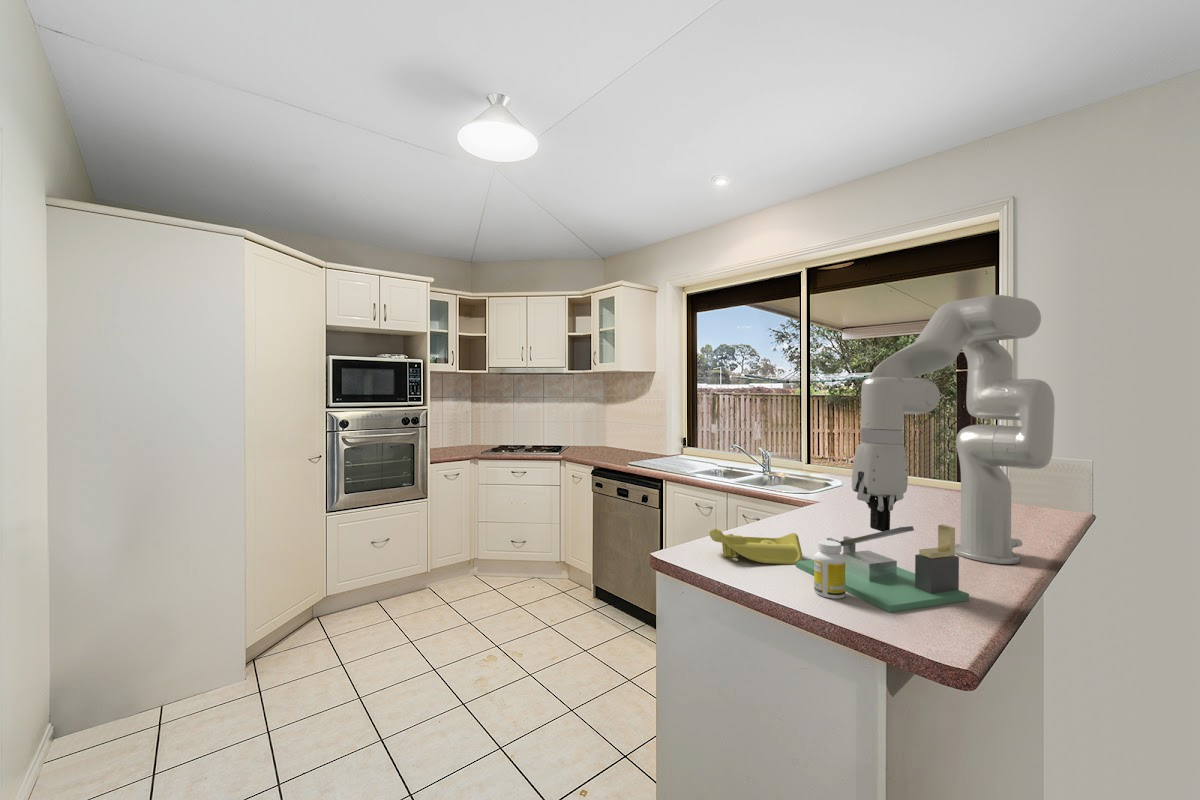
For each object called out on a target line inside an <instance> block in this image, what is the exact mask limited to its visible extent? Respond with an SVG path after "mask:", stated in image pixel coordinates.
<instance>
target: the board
mask: <svg viewBox="0 0 1200 800" xmlns="http://www.w3.org/2000/svg"><path fill="white" fill-rule="evenodd" d="M842 538H843V540H842V541H844V540H849V539H853V538H854V537H851V536H847V535H845V536H843V537H842ZM826 540H830V541H836V542H840V541H839V539H835V538H832V537H826ZM842 547H843V548H842V549H843V550H842V551H843V552H842V553H848V552H856V543H855V544H851V545H847V546H842ZM795 567H796V568H797V569H799V570H802V571H804V572H805V573H808V574H810V575H812V576H814V559H808V560H807V559H806V560H801V561H796V564H795ZM845 593H849V594H851V595H853V596H855V597H857V598H859V599H861V600H863V601H866V602H867V603H869V604H871V605H873V606H875V607H877V608H880V609H882V610H884V611H886V612H888V613H895V612H901V611H908V610H916V609H919V608H921V609H922V608H928V607H935V606H940V605H946V604H947V605H948V604H954V603H959V602H960V603H961V602H965V601H966V602H967V601H969V600H970V593H967V592H965V591H962V590H960V589H959V590H955V591H948V592H941V593H934V594H930V593H927V592H925V591H922V590H920V589H918V588H915V572H912V571H910V570H907V569H904V568H902V567H899V566H897V578H893V579H885V580H877V581H867V580H865V579H863V578H860V577H858V576H856V575H853V574H851V573H849V572H847V571H845Z"/></svg>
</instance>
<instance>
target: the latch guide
mask: <svg viewBox="0 0 1200 800" xmlns="http://www.w3.org/2000/svg"><path fill="white" fill-rule="evenodd" d="M914 557H915V560H914V565H915V566H914V567H915V568H914V571H915V572H914V573H915V588H918V589H920V590H922V591H925V592H927V593H930V594H934V593H941V592H948V591H955V590H960V589H959V587H960V586H959V585H960V569H959V568H960V557H959V555H955V556H950V557H941V558H933V559H931V558H928V557H925V556H922V555H919V554H918V553H917V554H915V555H914Z"/></svg>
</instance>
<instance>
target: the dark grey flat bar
mask: <svg viewBox="0 0 1200 800" xmlns="http://www.w3.org/2000/svg"><path fill="white" fill-rule="evenodd" d="M913 531H915V529H914V526H912V525H911V526H900V527H896V528H895V527H894V528H890V530H887V531H879V532H874V533H870V534H866V535H861V536H857V537H852V538H853V539H849V540H844V541H843V540H841V541H839V543H841V547H843V546H847V545H851V544H855V545H856V544H859V543H864V542H868V541H869V542H870V541H873V540H877V539H882V538H887V537H891V536H895V535H899V534H905V533H908V532H909V533H910V532H913Z"/></svg>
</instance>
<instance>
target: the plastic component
mask: <svg viewBox="0 0 1200 800" xmlns="http://www.w3.org/2000/svg"><path fill="white" fill-rule="evenodd" d="M708 534H709V536H710V538H711V539H712V541H713V542H715V543H720V544H721V545H722V555H723V557H725V558H736V557H739V555H740V556H742V557H743V558H746V559H748V560H750V561H753V562H756V563H762V564H772V565H773V564H777V565H796V561H803V560H802V559H803V552H802V548H801V543H800V539H799V536H798V534H797V533H796V532H791V533H790V534H787V535H784V536H781V537H759V536H758V537H757V536H755V537H753V536H743V535H736V534H735V535H734V534H732V533H729V534H724V533H723V532H722V531H721V529H719V528H714V529H712V530H710V531H709V532H708Z"/></svg>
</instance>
